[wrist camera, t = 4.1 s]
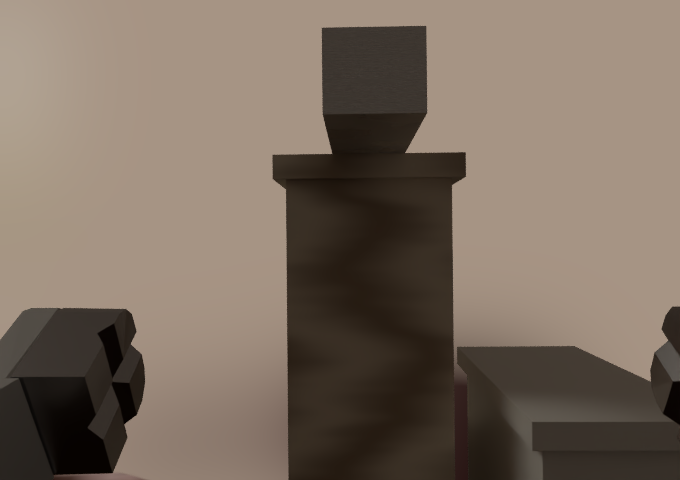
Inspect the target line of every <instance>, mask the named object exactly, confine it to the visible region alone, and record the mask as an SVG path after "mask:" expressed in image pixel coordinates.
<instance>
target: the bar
mask: <svg viewBox="0 0 680 480" xmlns="http://www.w3.org/2000/svg"><path fill="white" fill-rule="evenodd" d="M426 59H427V56H426V26H399V27H342V28H322V80H323V81H322V86H323V87H322V88H323V117H324V121H325V125H326V129H327V133H328V138H329V142H330V145H331V149H332V154H380V153H405V152H406V150H407V148H408V146H409V145H410V143H411V141H412V139H413V138H414V136H415V134H416V132H417V130H418V128H419V127H420V125H421V123H422V121H423V119H424V117H425V116H426V114H427V61H426Z"/></svg>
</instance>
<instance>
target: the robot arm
mask: <svg viewBox="0 0 680 480" xmlns="http://www.w3.org/2000/svg"><path fill="white" fill-rule="evenodd" d="M662 331H663V332H664V334H665V336H666V337H667V339H668V341H667V342H666V343H665V344H664V345H663V346H662V347H661V348H659V349H658V350H657V351H656V352H655V353H654V358H653V362H652V366H651V370H650V371H651V388H652V391H653V394H654V397H655V401H656V403H657V404H658V406H659V408H660V410H661V412H662V413H663V414H664V415H665V416H667V417H668V418H670V419H671V420H673V421H674V422H676V423H677V424H679V425H680V307H672V308H671V309H670V310H669V312H668V313H667V315H666V316H665V319H664V323H663V326H662ZM135 333H136V328H135V324H134V320H133V317H132V314H131V313H130V312H129V311H128V310H126V309H87V308H86V309H85V308H84V309H83V308H63V309H60V308H31V309H28V310H25V311H23V312H22V313H21V314H20V316H19V317H18V318H17V319H16V321H15V322H14V323H13V325H12V326H11V327H10V328H9V330H8V331H7V332H6V334H5V335H4V336H3V337H2V339H1V340H0V480H52V479H53V478H54V476H53V475H63V474H100V473H113V471H114V469H115V466H116V464H117V461H118V459H119V456H120V454H121V451H122V449H123V447H124V444H125V442H126V440H127V434H126V430H125V426H124V424H125V423H126V422H128V421H129V420H130V419H132V418H133V417H134V416H136V415H137V412H138V410H139V407H140V405H141V402H142V398H143V391H144V385H145V374H144V364H143V359H142V354H140V352H138V351H137V350H136V349H135V348H134V347H133V346H132V345H131V342H132V340H133V338H134V335H135ZM677 439H678V441H679V442H680V428H679V431H678V434H677Z"/></svg>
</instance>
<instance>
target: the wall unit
mask: <svg viewBox="0 0 680 480" xmlns="http://www.w3.org/2000/svg"><path fill="white" fill-rule="evenodd" d="M465 155H466V153H465V152H464V153H463V152H459V153H380V154H303V155H302V154H300V155H273V179H274V180H275V181H276V182H277V183H279V184H280V185H281V186H282V187H284V188H285V189H286V220H287V221H286V224H287V225H286V229H287V339H288V340H287V341H288V343H287V344H288V452H289V453H288V456H289V457H288V458H289V480H455V442H454V441H455V440H454V349H453V348H454V347H453V250H452V185H453V184H454V183H456V182H457V181H459V180H461V179H462V178H464V177H466V163H465V162H466V158H465V157H466V156H465Z"/></svg>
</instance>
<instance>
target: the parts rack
mask: <svg viewBox="0 0 680 480" xmlns="http://www.w3.org/2000/svg"><path fill="white" fill-rule="evenodd" d="M457 364H458V365H459V366H460V367H461V368H462V369H463V371H464V372H465V373H466V374H467V380H468V382H467V384H468V385H467V388H468V389H467V390H468V477H469V478H468V480H680V442H679V441H678V439H677V434H678V431H679V428H680V425H679V424H677V423H676V422H674V421H673V420H671V419H670V418H668V417H667V416H665V415H664V414H663V413H662V412H661V410H660V408H659V406H658V404H657V403H656V401H655V397H654V394H653V391H652V388H651V382H650V381H648V380H646V379H644V378H641V377H639V376H637V375H635V374H633V373H631V372H628V371H626V370H624V369H622V368H620V367H618V366H615V365H613V364H611V363H609V362H607V361H605V360H603V359H600V358H598V357H596V356H594V355H592V354H590V353H588V352H585V351H583V350H581V349H579V348H577V347H575V346H561V347H560V346H550V347H549V346H548V347H547V346H546V347H544V346H541V347H457Z"/></svg>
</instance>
